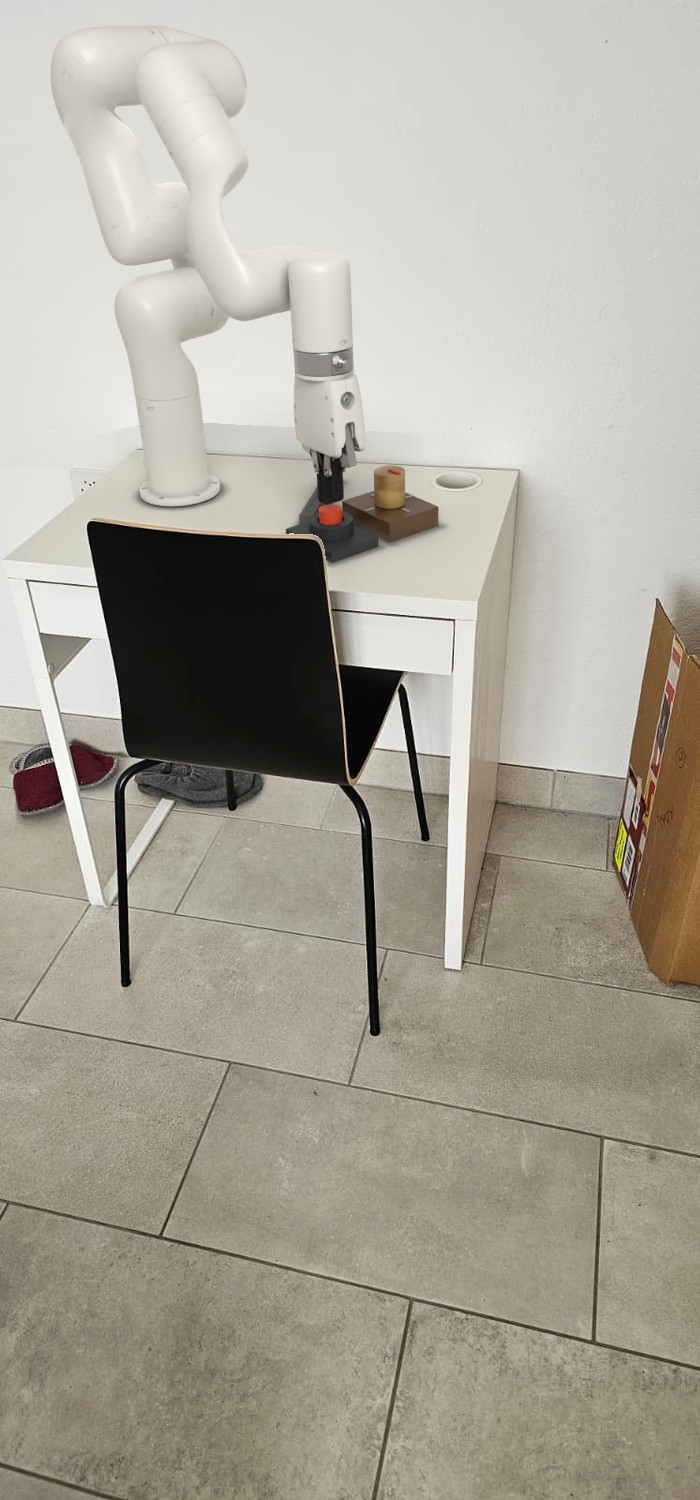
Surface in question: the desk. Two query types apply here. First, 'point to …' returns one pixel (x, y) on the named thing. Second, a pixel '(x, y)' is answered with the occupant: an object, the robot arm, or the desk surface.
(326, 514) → the power button
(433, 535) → the desk surface
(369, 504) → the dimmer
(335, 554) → the switch box
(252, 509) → the desk surface
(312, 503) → the dark grey long bar
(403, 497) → the dimmer knob
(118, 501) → the desk surface
